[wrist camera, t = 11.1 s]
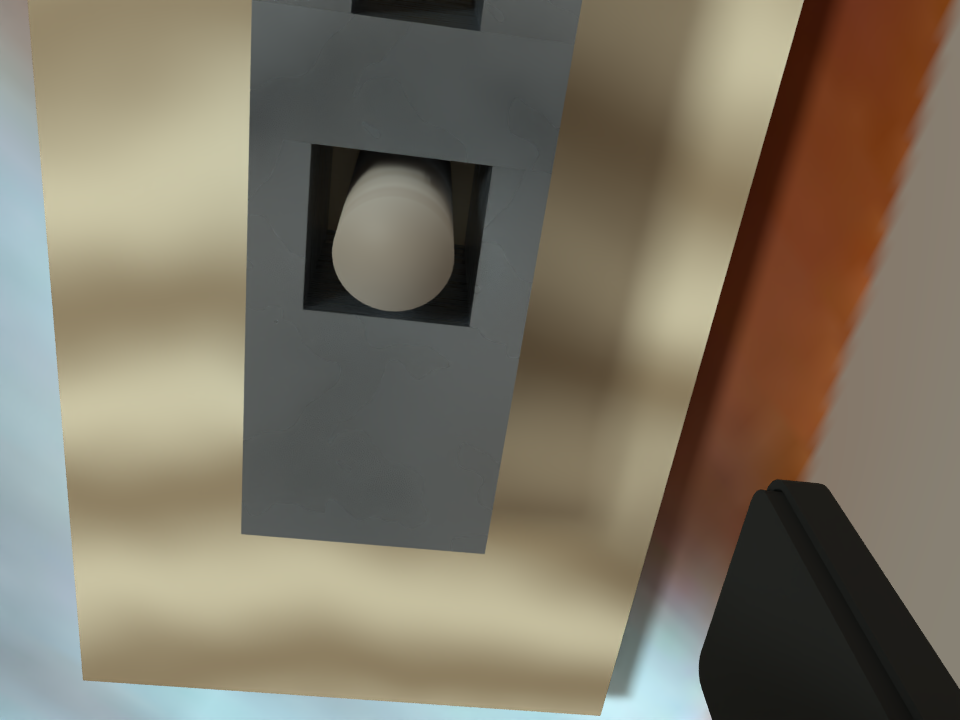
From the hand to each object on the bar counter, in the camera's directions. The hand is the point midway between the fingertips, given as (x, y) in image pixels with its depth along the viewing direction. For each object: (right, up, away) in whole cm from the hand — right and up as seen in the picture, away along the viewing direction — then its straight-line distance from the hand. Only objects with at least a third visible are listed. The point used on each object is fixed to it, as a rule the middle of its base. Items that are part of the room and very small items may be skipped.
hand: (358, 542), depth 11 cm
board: (-1, +4, +17) cm, 17 cm away
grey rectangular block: (-1, +7, +13) cm, 14 cm away
